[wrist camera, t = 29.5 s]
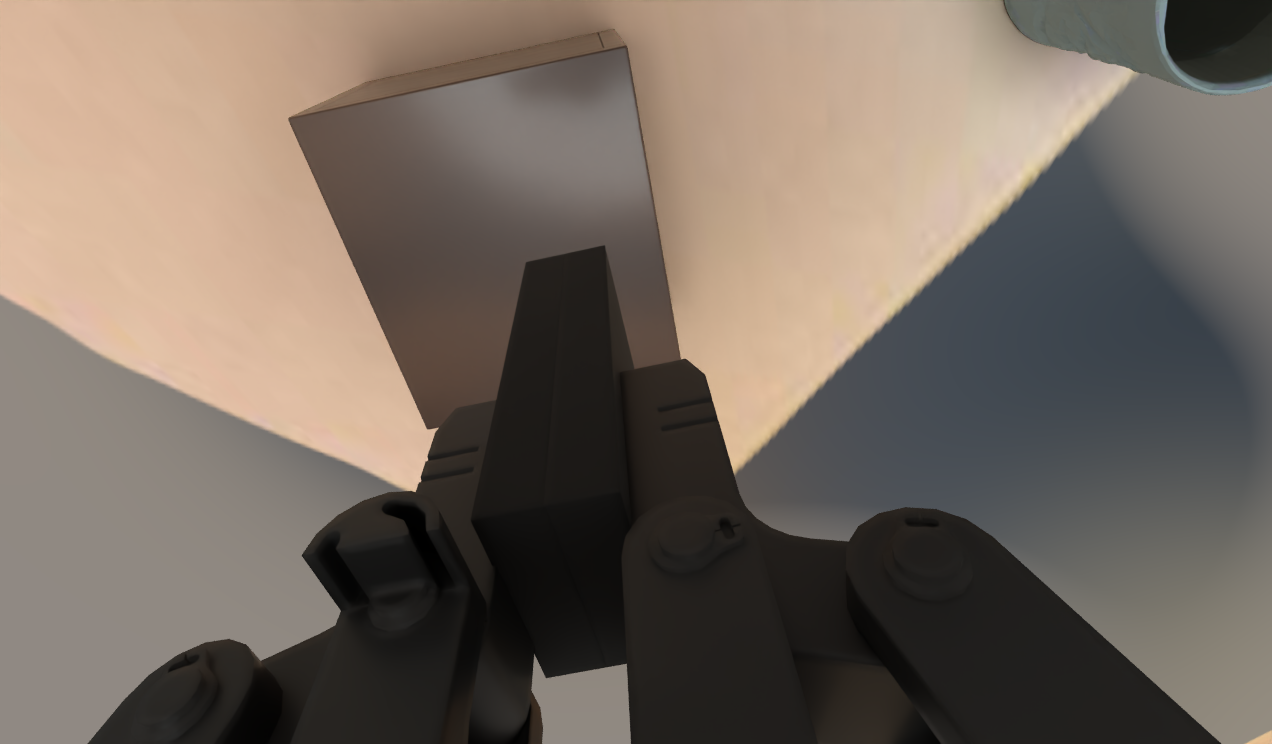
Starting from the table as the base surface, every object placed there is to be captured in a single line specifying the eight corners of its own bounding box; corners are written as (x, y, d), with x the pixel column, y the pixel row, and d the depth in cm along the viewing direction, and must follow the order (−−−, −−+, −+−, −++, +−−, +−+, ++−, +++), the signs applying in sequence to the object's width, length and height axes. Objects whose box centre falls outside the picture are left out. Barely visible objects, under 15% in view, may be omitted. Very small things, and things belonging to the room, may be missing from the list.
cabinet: (661, 293, 42) (684, 379, 33) (459, 334, 43) (426, 430, 34) (614, 28, 34) (627, 44, 25) (364, 82, 35) (286, 117, 25)
